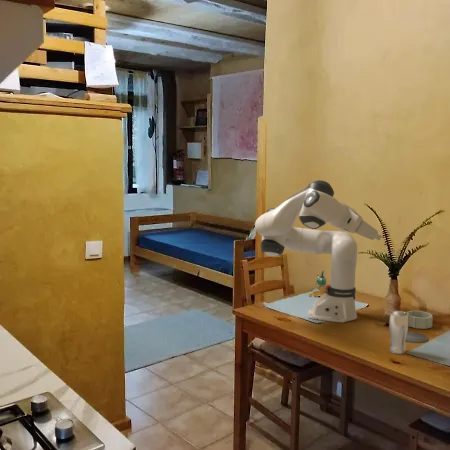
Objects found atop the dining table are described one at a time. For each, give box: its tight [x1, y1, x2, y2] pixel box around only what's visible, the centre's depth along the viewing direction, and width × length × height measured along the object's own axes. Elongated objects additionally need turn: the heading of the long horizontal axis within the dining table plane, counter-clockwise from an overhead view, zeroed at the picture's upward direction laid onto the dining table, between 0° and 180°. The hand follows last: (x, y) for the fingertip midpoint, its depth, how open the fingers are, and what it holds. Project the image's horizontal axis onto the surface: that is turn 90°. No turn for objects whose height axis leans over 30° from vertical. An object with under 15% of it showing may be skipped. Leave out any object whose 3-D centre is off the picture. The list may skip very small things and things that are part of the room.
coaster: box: [405, 331, 429, 344], centre depth 207 cm, size 12×12×1 cm
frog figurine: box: [307, 269, 327, 298], centre depth 267 cm, size 10×18×15 cm, turn 96°
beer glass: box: [388, 310, 409, 355], centre depth 192 cm, size 7×7×15 cm
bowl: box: [405, 310, 434, 330], centre depth 221 cm, size 11×11×5 cm
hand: (373, 234), depth 187 cm, fingers open, 8 cm apart
